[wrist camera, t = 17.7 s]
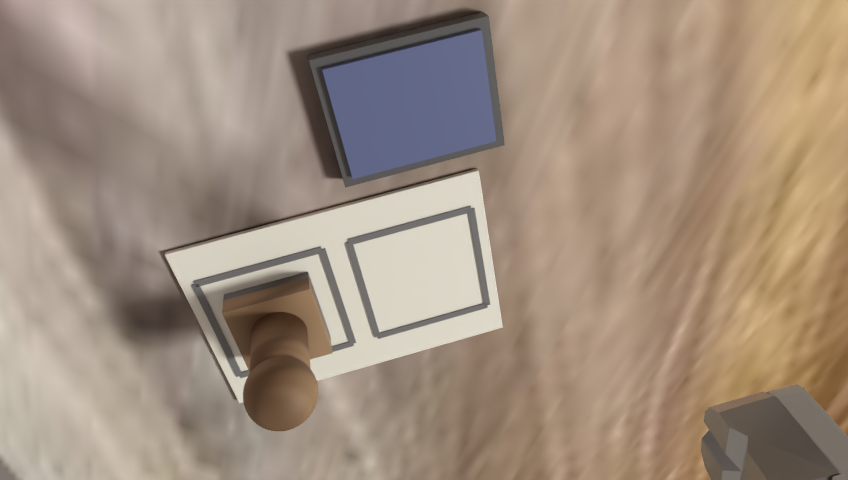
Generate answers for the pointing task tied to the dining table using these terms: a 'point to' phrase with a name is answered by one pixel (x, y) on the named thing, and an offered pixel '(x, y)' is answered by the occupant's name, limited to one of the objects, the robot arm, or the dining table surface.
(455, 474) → the dining table surface
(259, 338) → the stamp
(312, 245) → the print card
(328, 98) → the ink pad
